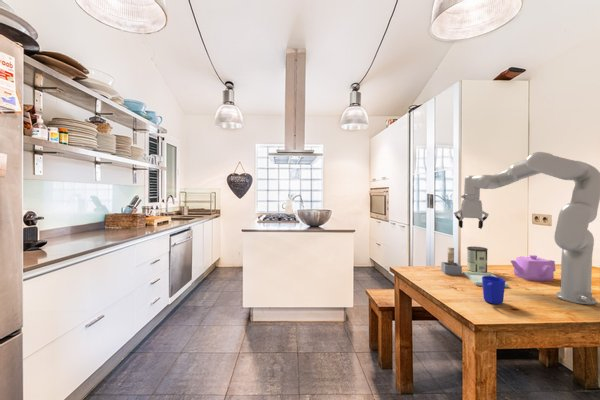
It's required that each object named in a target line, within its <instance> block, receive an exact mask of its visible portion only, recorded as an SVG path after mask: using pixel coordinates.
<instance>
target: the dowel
mask: <svg viewBox="0 0 600 400" xmlns="http://www.w3.org/2000/svg"><path fill="white" fill-rule="evenodd" d="M447 262H448V265H451V266H454V263H455V247H447Z"/></svg>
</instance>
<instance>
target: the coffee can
mask: <svg viewBox="0 0 600 400" xmlns="http://www.w3.org/2000/svg"><path fill="white" fill-rule="evenodd" d="M466 249H467V250H466V251H467V252H466V254H467V256H466V257H467V258H466V259H467V260H466V261H467V265H466V266H467V272H480V273H488V251H489V250H488V247H484V246H483V247H482V246H467V247H466Z"/></svg>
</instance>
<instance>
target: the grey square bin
mask: <svg viewBox="0 0 600 400" xmlns="http://www.w3.org/2000/svg"><path fill="white" fill-rule="evenodd" d="M440 262H441V263H440V270H441V272H442V273H444V275H450V276H451V275H452V276H463V266H462V265H461V264H459V263H458V262H454V266H451V265H448V261H440Z"/></svg>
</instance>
